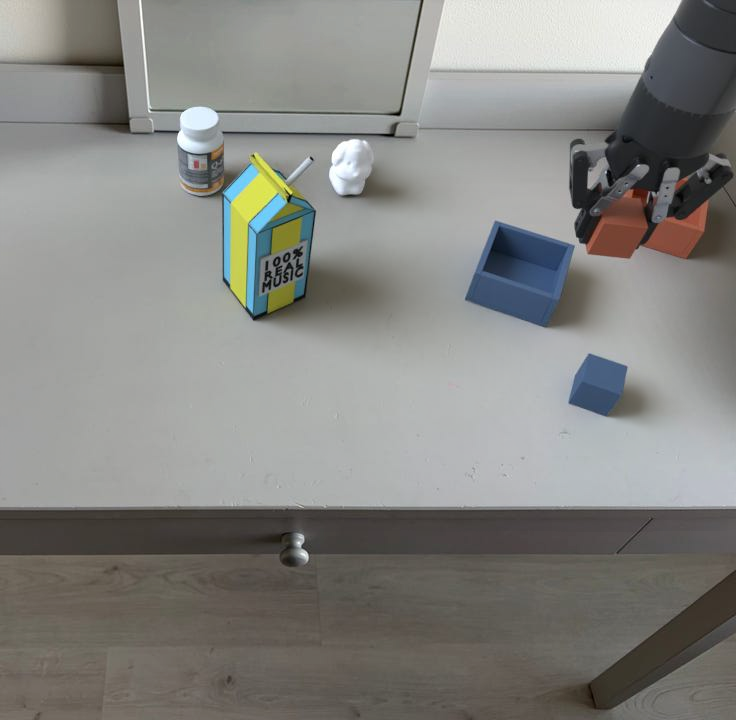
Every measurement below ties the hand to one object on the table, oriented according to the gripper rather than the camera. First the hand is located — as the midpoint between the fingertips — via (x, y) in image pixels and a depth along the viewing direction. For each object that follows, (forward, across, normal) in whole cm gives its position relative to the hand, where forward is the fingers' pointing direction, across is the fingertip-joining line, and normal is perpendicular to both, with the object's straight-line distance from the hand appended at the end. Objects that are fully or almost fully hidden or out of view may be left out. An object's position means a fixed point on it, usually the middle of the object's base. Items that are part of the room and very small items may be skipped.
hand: (606, 239), depth 74 cm
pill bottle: (+16, -43, +20) cm, 50 cm away
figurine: (+16, -24, +22) cm, 37 cm away
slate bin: (+15, -4, +8) cm, 18 cm away
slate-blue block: (+15, +3, -7) cm, 17 cm away
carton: (+16, -32, +3) cm, 36 cm away
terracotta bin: (+15, +15, +21) cm, 30 cm away
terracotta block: (0, 0, 0) cm, 0 cm away
